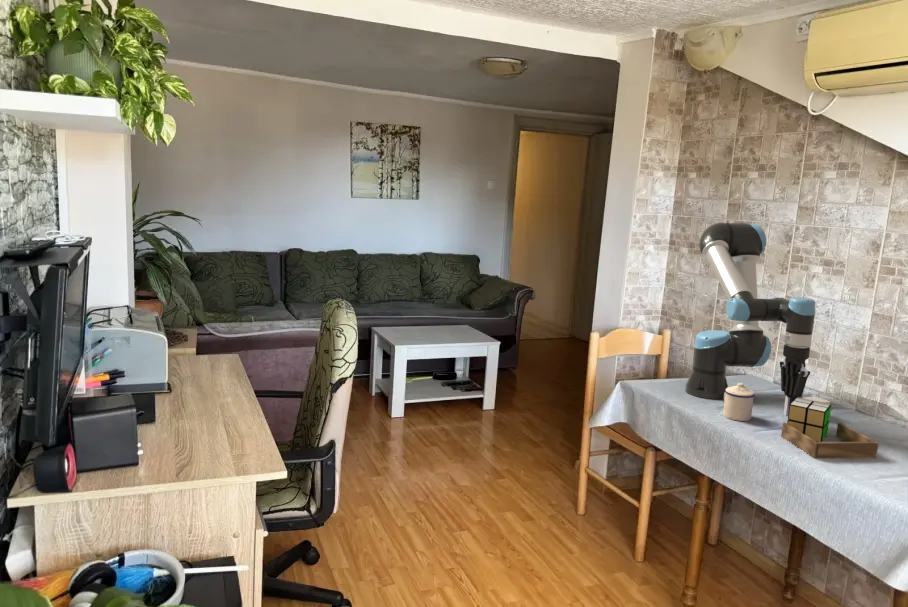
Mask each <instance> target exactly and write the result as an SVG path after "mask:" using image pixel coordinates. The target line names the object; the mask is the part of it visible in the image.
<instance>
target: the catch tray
mask: <svg viewBox="0 0 908 607" xmlns="http://www.w3.org/2000/svg"><path fill="white" fill-rule="evenodd" d="M780 436H781V438H782V437H783V438H782V439H784V440H785V439H786V440H785V441H787V442H788V441H789V442H788V443H790V442H791V443H792V444H791V443H790V444H791V445H793V444H794V445H795V447H796V446H797V447H798V448H797V447H796V448H797V449H799V448H800V449H801V451H802V450H803V451H804V453H805V452H806V453H805V454H806V455H808V454H809V455H808V456H810V457H811V458H812V459H869V458H870V459H874V458H875V459H876V458H877V457H878V456H877V454H878V447H879V442H877V441H876V440H873V439H872V438H870V437H869V436H866V435H865V434H863V433H860V432H859V431H857V430H856V429H853V428H851V427H849V426H848V425H846V424H844V423H842V422H837V426H836V433H835V437H836V438H837V439H839V440H841V441H822V442H816V441H814V440H813V439H811V438H810V437H808V436H806V435H805V434H803V433H801V432H800V431H798V430H797V429H795V428H793V427H792V426H790V425H788V424H787V422H782V427H781V435H780ZM794 445H793V446H794ZM800 449H799V450H800ZM803 451H802V452H803Z"/></svg>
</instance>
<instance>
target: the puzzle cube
mask: <svg viewBox="0 0 908 607" xmlns="http://www.w3.org/2000/svg"><path fill="white" fill-rule="evenodd" d="M803 398H804V397H797V398H796V399H795V400H794V401H793V402H792V403H791V404H790V405H789V412H788V416H787V422H786V423H787V424H788V425H790V426H792V427H793V428H795V429H797V430H798V431H800V432H801V433H803V434H805V435H806V436H808V437H810V438H811V439H813V440H814V441H816V442H824V440H825V439H826V437H827V435H828V434H829V426H830V420H831V413H832V404H828V403H823V402H818V401H813V400H808V399H803Z"/></svg>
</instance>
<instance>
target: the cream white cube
mask: <svg viewBox="0 0 908 607" xmlns="http://www.w3.org/2000/svg"><path fill="white" fill-rule="evenodd" d="M802 398H803V399H808V400H813V401H818V402H823V403H828V404H831V401H830V400H827V399H824V398H821V397H820V396H819V397H818V396H815V395H813V396H808V397H807V396H806V397H802ZM831 405H832V404H831Z"/></svg>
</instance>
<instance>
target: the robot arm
mask: <svg viewBox="0 0 908 607" xmlns="http://www.w3.org/2000/svg"><path fill="white" fill-rule="evenodd" d="M766 246H767V235H766V233H765V230H764V229H763V228H762V227H761V226H760V225H758V224H756V223H748V222H746V223H745V222H743V223H742V222H741V223H740V222H738V223H737V222H735V223H734V222H733V223H732V222H730V223H729V222H717V223H714V224H711V225H710V226H708V227H707V228H706V229H705V230H704V231H703V232H702V234H701V236H700V239H699V250H700V254H701V256H702V258H703V259H704V260H705V261H708V262H709V265H710V267H711V269H712V270H713V272H714V275H715V277H716V278H717V281H718V282H719V284H720V287H721V289H722V291H723V293H724V294H725V296H726V298H727V300H728V301H727V302H726V305H725V311H726V316H727V319H730V320H731V321H732V324H733V325H732V327H731V328H730V330H729V332H728V331H727V330H721V329H720V330H717V329H714V330H713V329H709V330H703V331H701V332H700V331H699V332H698V333H697V334H696V336H695V341H694V344H693V359H692V369H691V372H690V375H689V377H688V379H687V380H686V383H685V389H684V390H685V392H686V393H688V394H689V395H692V396H693V397H694V396H695V397H698V398H703V399H709V400H721V399H723V400H724V393H725V390H726V388H728V387H729V385H728V381H727V377H726V376H727V374H726V373H727V372H726V371H727V367H733V368H734V367H741V368H742V367H743V368H745V367H746V368H753V367H762V366H764V365H765V364H766V363H768V361H769V359H770V357H771V352H772V342H771V340H770V338H769V336H767V335H764V330H763V328H761V326H759V322H782V323H784V324H786V325H785V327H786V328H785V335H784V345H783V349H782V350H783V351H782V355H783V357H785V358H784V361H779V367H780V389H781V392H783V394H784V395H785V397H784V405H783V406H784V408H783V414H782V415H783V416H786V417H788V412H789V405H790V404H791V403H792V402H793V401H794V400H795V399H796V398H797V397H799V398H803V393H804V391H805V387H806V384H807V381H808V378H809V376H810V375H811V371H809V370H807V369H806V367H807V366H806V361H807V360H809V358H810V352H811V348H810V346H812V337H813V329H814V322H815V316H816V301H815V299H813V298H810V297H809V298H808V297H804V296H793V297H791V298H789V299H787V298H784V297H777V296H776V297H775V296H774V297H772V298H758V283H757V262H758V261H759V260H760V259H761V255H762V254H763V253H764V252H765V250H766Z"/></svg>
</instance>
